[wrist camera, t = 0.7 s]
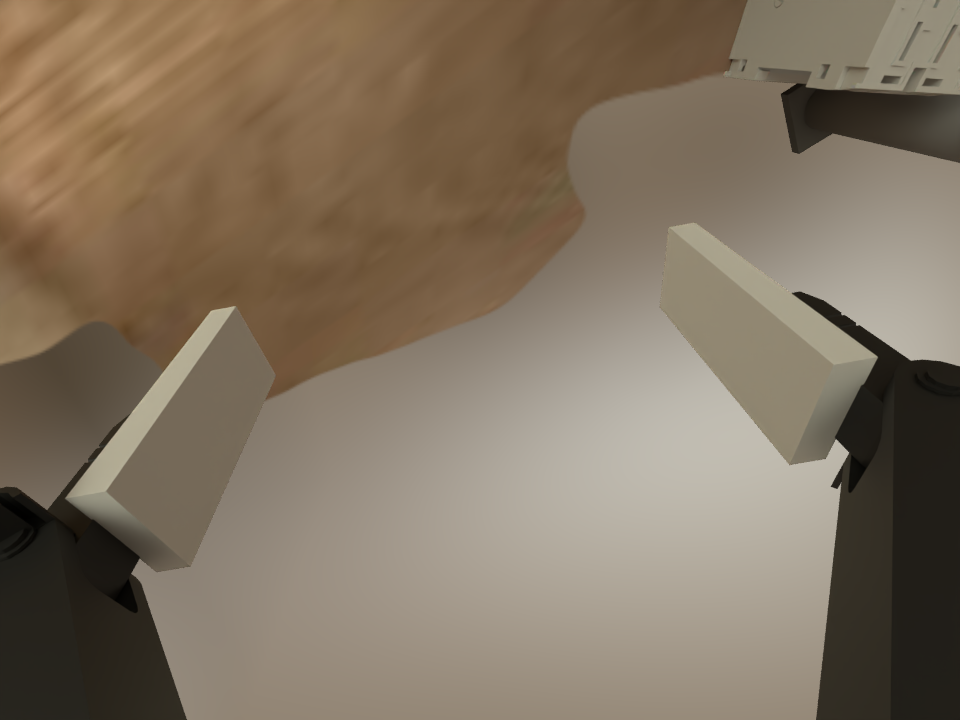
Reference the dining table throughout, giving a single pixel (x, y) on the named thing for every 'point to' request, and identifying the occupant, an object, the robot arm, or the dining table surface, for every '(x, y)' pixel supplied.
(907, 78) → the circuit breaker
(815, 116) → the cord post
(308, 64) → the dining table surface
